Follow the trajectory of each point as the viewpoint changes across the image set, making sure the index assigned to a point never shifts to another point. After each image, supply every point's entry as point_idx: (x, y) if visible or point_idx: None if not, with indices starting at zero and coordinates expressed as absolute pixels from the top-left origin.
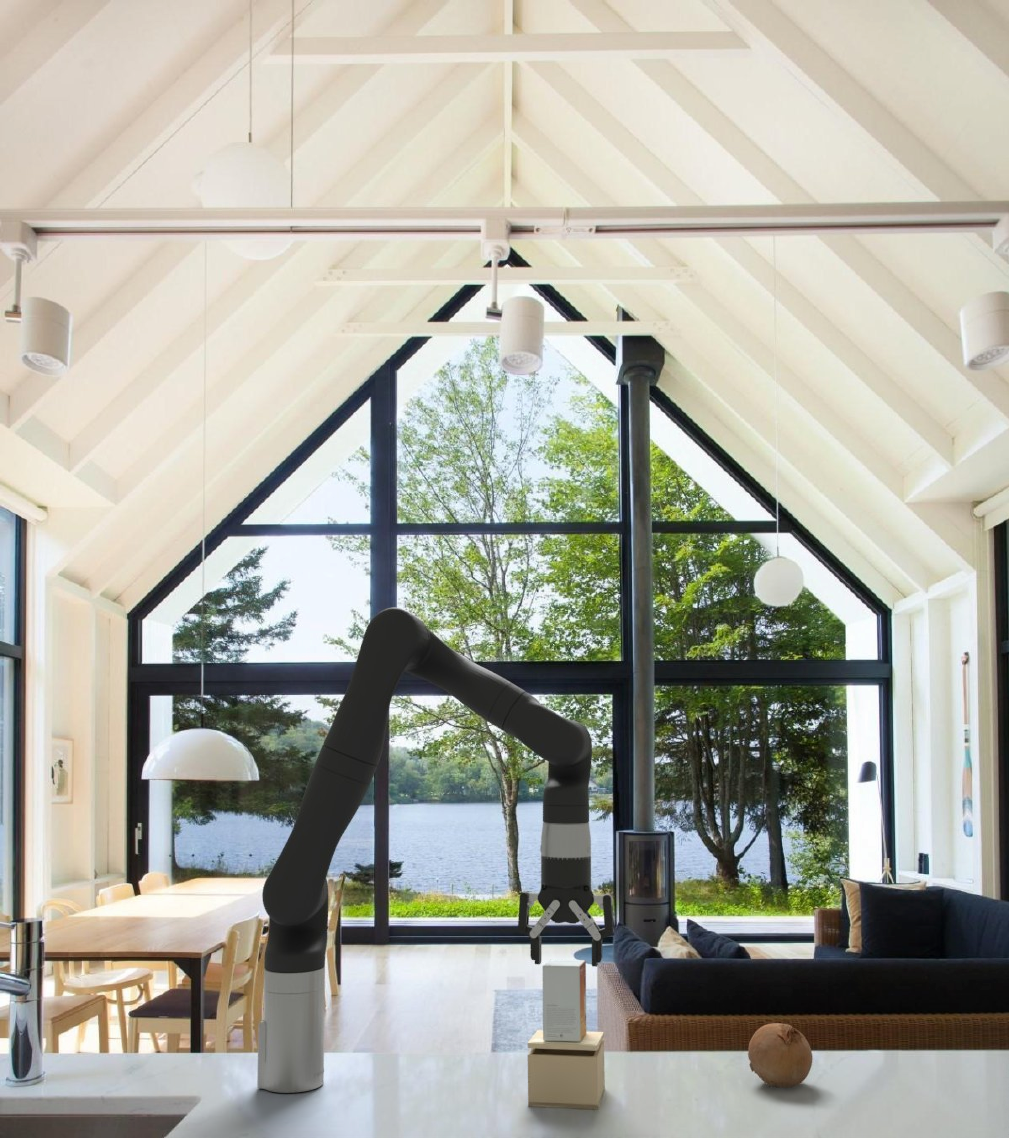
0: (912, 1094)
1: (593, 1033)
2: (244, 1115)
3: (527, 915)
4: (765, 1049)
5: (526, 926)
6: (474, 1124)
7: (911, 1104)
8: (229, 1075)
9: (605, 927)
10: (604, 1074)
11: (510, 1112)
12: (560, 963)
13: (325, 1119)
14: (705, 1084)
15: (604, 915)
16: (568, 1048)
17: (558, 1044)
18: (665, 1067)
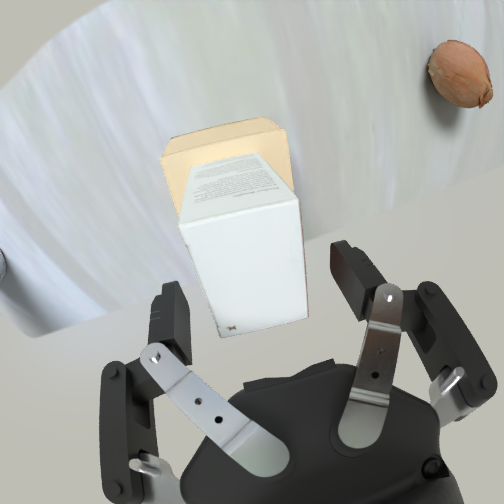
0: (497, 97)
1: (271, 149)
2: (27, 317)
3: (145, 429)
4: (460, 101)
5: (148, 400)
6: (172, 280)
7: (494, 120)
8: None
9: (413, 340)
10: (268, 119)
11: None
12: (250, 302)
13: (66, 309)
14: (378, 71)
15: (428, 371)
16: None
17: None
18: (320, 4)
